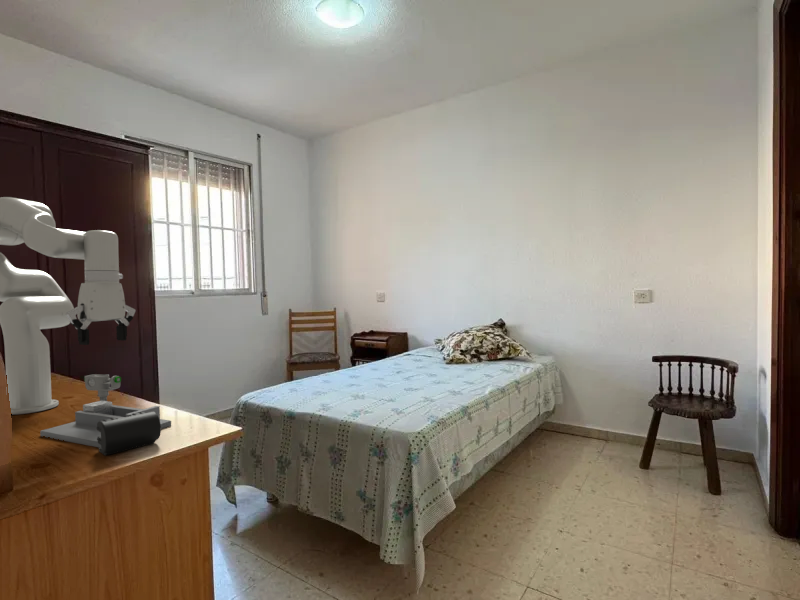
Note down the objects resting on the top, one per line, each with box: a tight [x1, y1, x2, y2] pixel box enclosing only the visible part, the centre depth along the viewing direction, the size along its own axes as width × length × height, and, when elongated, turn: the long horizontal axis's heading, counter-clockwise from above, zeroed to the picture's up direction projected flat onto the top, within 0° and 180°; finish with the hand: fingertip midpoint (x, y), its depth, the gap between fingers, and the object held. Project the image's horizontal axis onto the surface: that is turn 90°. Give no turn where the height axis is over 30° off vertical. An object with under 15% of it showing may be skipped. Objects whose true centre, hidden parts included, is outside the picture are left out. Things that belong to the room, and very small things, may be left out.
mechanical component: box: [83, 373, 122, 401], centre depth 118 cm, size 3×10×10 cm, turn 78°
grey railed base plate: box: [39, 404, 172, 449], centre depth 102 cm, size 22×16×5 cm
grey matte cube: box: [82, 400, 113, 415], centre depth 107 cm, size 4×4×4 cm
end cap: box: [96, 412, 162, 456], centre depth 91 cm, size 10×7×7 cm
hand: (103, 342), depth 117 cm, fingers open, 9 cm apart
